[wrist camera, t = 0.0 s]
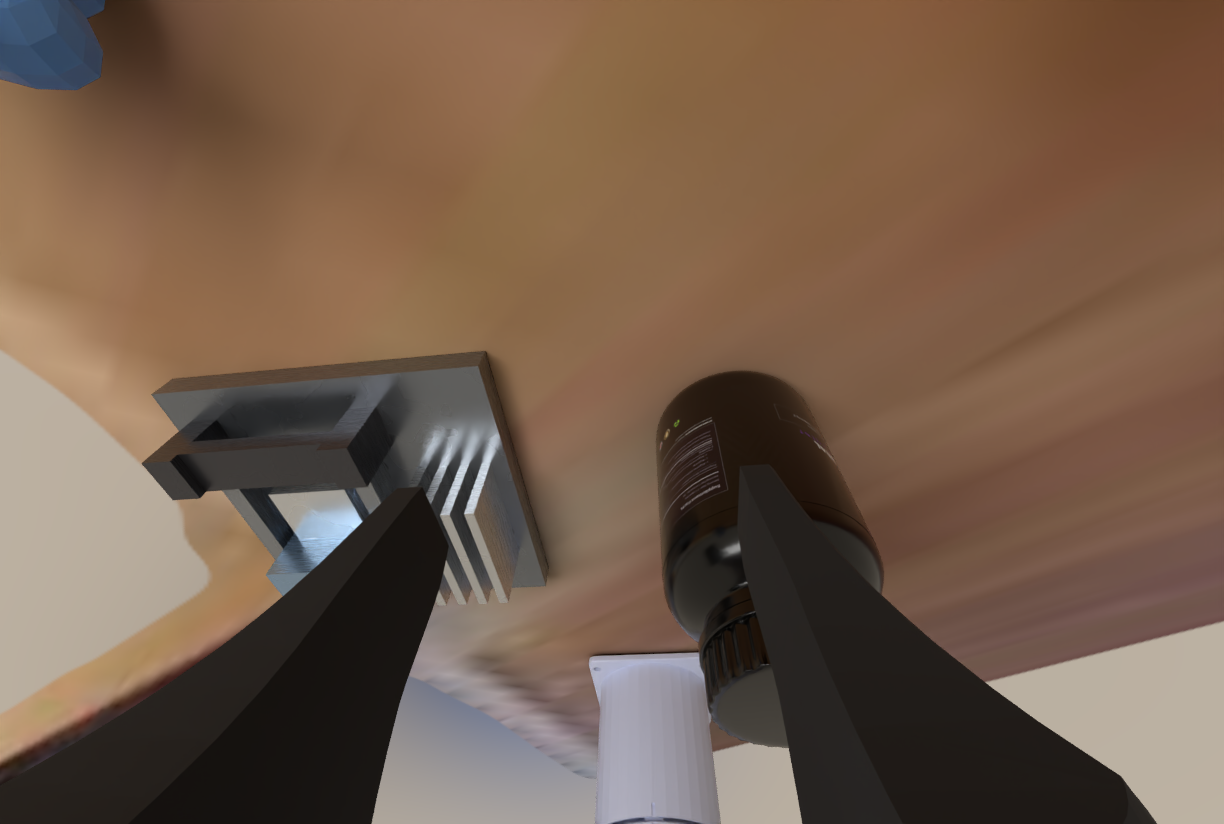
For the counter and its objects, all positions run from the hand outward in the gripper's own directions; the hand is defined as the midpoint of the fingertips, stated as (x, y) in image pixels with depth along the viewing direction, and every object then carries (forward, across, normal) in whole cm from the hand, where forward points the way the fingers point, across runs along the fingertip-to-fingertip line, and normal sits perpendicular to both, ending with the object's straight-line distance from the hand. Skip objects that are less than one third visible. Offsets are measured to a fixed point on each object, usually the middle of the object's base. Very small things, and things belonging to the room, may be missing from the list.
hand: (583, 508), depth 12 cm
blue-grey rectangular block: (+9, +14, +9) cm, 19 cm away
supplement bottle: (+10, -5, +6) cm, 13 cm away
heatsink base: (+10, +12, +8) cm, 18 cm away
